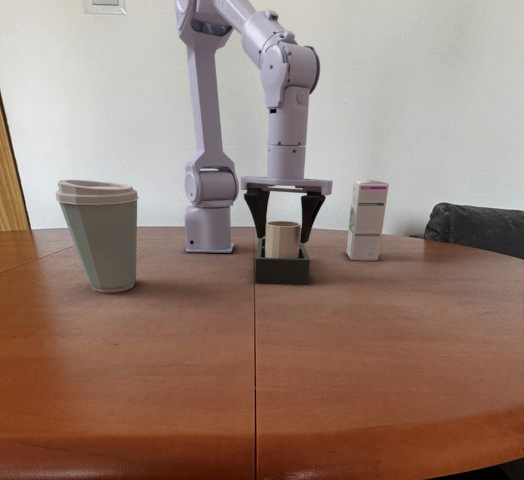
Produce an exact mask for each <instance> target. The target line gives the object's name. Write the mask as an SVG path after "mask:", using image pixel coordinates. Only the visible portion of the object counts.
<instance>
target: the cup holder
mask: <svg viewBox="0 0 524 480" xmlns="http://www.w3.org/2000/svg"><path fill="white" fill-rule="evenodd" d="M265 242H266V237H263V238H257V246H256V252H255V262H254V263H255V265H254V267H255V268H254V269H255V271H254V272H255V273H254V275H255V276H254V280H255V281H254V284H281V285H282V284H283V285H308V284H309V276H310V264H311V259H310V257H309V254H308V251H307V249H306V246H305V243H301V242H300V243H299V258H265Z"/></svg>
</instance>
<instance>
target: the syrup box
mask: <svg viewBox="0 0 524 480" xmlns="http://www.w3.org/2000/svg"><path fill="white" fill-rule="evenodd" d="M389 186H390V183H389V182H385V181H381V180H373V179H372V180H371V179H364V180H363V179H362V180H354V181H353V185H352V195H351V203H350V211H349V223H348V230H347V239H346V249H345V254H346V256H347V257H348V258H349V260H351V261H361V262H362V261H364V262H367V261H369V262H370V261H371V262H374V261H375V262H377V261H378V260H379V255H380V249H381V248H380V247H381V242H382V236H383V228H384V221H385V216H386V215H385V214H386V209H387V208H386V207H387V198H388V193H389Z"/></svg>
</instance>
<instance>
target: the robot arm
mask: <svg viewBox="0 0 524 480" xmlns="http://www.w3.org/2000/svg"><path fill="white" fill-rule="evenodd" d="M173 3H174V12H175V13H174V14H175V22H176V27H177V35H178V38H179V39H180V41H182V43H183V44H184V46H185V47H184V48H185V56H186V64H187V65H186V66H187V74H188V75H187V76H188V84H189V85H188V86H189V93H190V102H191V103H190V104H191V110H192V112H191V113H192V120H193V129H194V138H195V147H196V152H195V154H193V155H192V156H191V158H190V159H188V161H187V162H186V163H185V165H184V173H185V174H184V175H185V176H184V192H185V195H186V198H187V200H188V201H189V202H190V204H191V205H186V206H185V208H184V215H183V216H184V220H183V221H184V232H185V233H184V234H185V247H186V249H185V252H186V253H208V254H210V253H213V254H221V253H222V254H231V253H232V251H233V249H234V247H235V242H232V231H231V230H232V229H231V228H232V226H231V222H232V221H231V207H233V206H234V202H235V201H236V200H237V198H238V196H239V193H240V190H241V191H246V192H245V193H243V199H244V201H245V204H246V205H247V207H248V209H249V212H250V214H251V217H252V220H253V224H254V229H255V233H256V238H257V239H258V238H266V223H267V222H268V219H267V215H268V207H269V200H270V196H271V195H270V194H271V192H275V193H276V192H278V193H291V194H292V193H293V194H294V193H295V194H304V195H301V196H300V204H301V205H300V206H301V228H300V242H301V243H304V244H306V243H308V242H309V240H310V236H311V233H312V229H313V226H314V223H315V222H316V218H317V216H318V214H319V212H320V210H321V208H322V206H323V205H324V203H325V201H326V198H327V196H331V195H332V194H333V193H332V192H333V182H334V181H333V180H330V179H329V180H327V179H315V178H305V167H306V151H307V137H308V134H307V133H308V121H309V106H310V95H312V94H313V92H314V91H315V89H316V88H317V85H318V83H319V80H320V77H321V76H320V75H321V61H320V57H319V55H318V52H317V50H316V48H315V47H314V46H312V45H307V44H306V45H299V43H298V42H297V40H296V39H295V38H296V34H294V33H293V31H291V30H287V29H286V28H284V27H283V25H282V24H281V23H279V18H280V16H279V13H277V12H276V11H274V10H271V9H266V10H258V11H257V9H255V7H254V6H253V4H252V3H251V1H249V0H173ZM234 30H235V31H236V33H238V34H239V35H240V36H241V37H240V41H241V47H242V49H243V52H244V53H245V54H246V55H247V57H248V59H250V61H251V62H252V63H253V64H254V65H255V67H256V68H257V69H258V70H259V77H260V82H261V86H262V89H263V91H264V104H265V108H266V109H267V110H268V111H267V112H268V113H267V115H268V116H267V151H266V156H267V158H266V176H249V175H248V176H247V175H246V176H240V182H239V178H238V175H237V171H236V168H235V167H236V166H235V162H234V161H233V160H232V159H231V158H230V157H229V156H228V155H227V154H226V153H225V152H224V149H223V148H224V147H223V137H222V125H221V114H220V113H221V112H220V102H219V91H218V79H217V68H216V67H217V66H216V53H217V50H219V49H221V48H224V47H225V46H226V44H227V43H228V41H229V39H230V37H231V36H232V34H233V32H234ZM202 169H203V170H202ZM276 186H281V187H276ZM284 187H285V188H284ZM286 187H294V188H286Z"/></svg>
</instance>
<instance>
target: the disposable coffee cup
mask: <svg viewBox="0 0 524 480" xmlns="http://www.w3.org/2000/svg"><path fill="white" fill-rule="evenodd" d="M57 187H58V190H56V192H55V196H56V199H55V200H56V202H58V203H59V206H60V210H61V211H62V214H63V217H64V219H65V222H66V225H67V228H68V231H69V233H70V236H71V238H72V239H71V240H72V242H73V244H74V247H75V250H76V252H77V255H78V257H79V260H80V263H81V266H82V269H83V271H84V275H85V277H86V279H87V282H88V284H89V285H90V287H91V288H92V290H94V292H98V293H102V294H106V293H107V294H111V293H114V294H115V293H120V292H121V293H122V292H125V291H128V290H130V289H133V288H134V286H135V284H136V283H135V282H136V280H137V245H138V244H137V241H138V239H137V237H138V199H139V197H138V191H137V190H136V189H134V188H133V186H132V185H129V184H124V183H117V182H108V181H100V180H99V181H98V180H85V179H84V180H83V179H61V180H58V181H57Z"/></svg>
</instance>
